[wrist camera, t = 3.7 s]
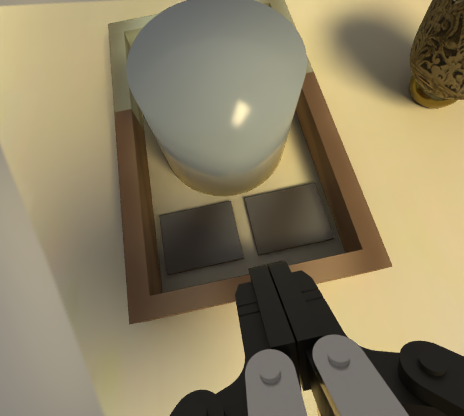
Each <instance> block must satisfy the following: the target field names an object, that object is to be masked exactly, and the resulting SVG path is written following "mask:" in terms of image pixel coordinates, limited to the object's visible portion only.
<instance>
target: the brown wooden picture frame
mask: <svg viewBox="0 0 464 416" xmlns="http://www.w3.org/2000/svg"><path fill="white" fill-rule="evenodd" d="M255 1H258V2H260V3H263V4H265V5H267V6H269V7H271V8H273V9H275V10H276V11H278V12H279V13H280V14H282V15H283V16H284V17H286V18H287V19H288V20H289V21H290V22H291V23H292V25H293V26H294V27H295V25H294V22H293V20H292V17H291V15H290V13H289V10H288V8H287V5H286V3H285V0H255ZM157 15H158V14H156V15H151V16H146V17H141V18H136V19H130V20H125V21H120V22H115V23H110V24H108V29H109V43H110V57H111V71H112V85H113V99H114V113H115V127H116V142H117V156H118V170H119V184H120V198H121V212H122V226H123V240H124V255H125V269H126V283H127V297H128V311H129V324H134V323H140V322H145V321H150V320H155V319H159V318H164V317H168V316H173V315H177V314H182V313H186V312H191V311H195V310H200V309H204V308H209V307H214V306H218V305H223V304H227V303H232V302H236V299H235V293H236V290H237V287H238V284H243V283H247V282H251V279H250V274H248V275H244V276H239V277H234V278H230V279H225V280H221V281H216V282H212V283H207V284H202V285H198V286H193V287H189V288H184V289H180V290H175V291H170V292H166V293H162V285H161V276H160V267H159V258H158V249H157V241H156V232H155V223H154V214H153V205H152V197H151V188H150V179H149V170H148V161H147V153H146V144H145V135H144V126H143V117H142V111H141V109H140V107H139V106H138V104H137V102H136V100H135V98H134V96H133V94H132V92H131V89H130V87H129V83H128V80H127V71H126V67H127V58H128V54H129V50H130V48H131V46H132V43H133V41H134V40H135V38H136V36H137V35H138V33H139V32H140V31H141V30H142V28H143V27H144V26H145V25H146V24H147V23H148V22H149V21H150V20H151V19H153V18H154V17H155V16H157ZM295 28H296V27H295ZM306 55H307V54H306ZM295 111H296V114H297V116H298V119H299V122H300V125H301V128H302V131H303V133H304V136H305V139H306V142H307V145H308V148H309V150H310V153H311V156H312V159H313V162H314V165H315V167H316V170H317V173H318V176H319V179H320V182H321V184H322V187H323V190H324V193H325V196H326V199H327V201H328V204H329V207H330V210H331V213H332V216H333V218H334V221H335V224H336V227H337V230H338V233H339V235H340V238H341V241H342V244H343V247H344V250H345V252H346V253H344V254H340V255H335V256H331V257H326V258H321V259H317V260H312V261H308V262H303V263H298V264H294V265H289V268H290V270H291V272H296V271H300V270H302V271H304V272H305V273H306V274H308V275H309V276H310V277H312V278H313V280H314V282H315V284H318V283H322V282H327V281H332V280H336V279H341V278H345V277H350V276H354V275H359V274H363V273H368V272H372V271H376V270H380V269H384V268H388V267H392V264H391V261H390V259H389V256H388V254H387V252H386V249H385V247H384V244H383V242H382V239H381V237H380V234H379V232H378V229H377V227H376V224H375V222H374V219H373V217H372V215H371V212H370V210H369V207H368V205H367V202H366V200H365V197H364V195H363V192H362V190H361V187H360V185H359V183H358V180H357V178H356V175H355V173H354V170H353V168H352V165H351V163H350V160H349V158H348V155H347V153H346V151H345V148H344V146H343V143H342V141H341V138H340V136H339V133H338V131H337V128H336V126H335V123H334V121H333V118H332V116H331V114H330V111H329V109H328V106H327V104H326V101H325V99H324V96H323V94H322V91H321V89H320V86H319V84H318V82H317V79H316V77H315V74H314V72H313V69H312V67H311V64H310V62H309V59H308V57H307V69H306V75H305V79H304V82H303V86H302V89H301V92H300V96H299V99H298V103H297V106H296V109H295ZM245 201H246V205H247V210H248V214H249V218H250V222H251V226H252V230H253V234H254V239H255V243H256V247H257V251H258V255H261V254H266V253H271V252H275V251H280V250H284V249H289V248H294V247H298V246H303V245H308V244H312V243H317V242H321V241H326V240H331V239H333V238H334V236H333V233H332V230H331V227H330V224H329V221H328V218H327V216H326V213H325V210H324V207H323V204H322V201H321V198H320V195H319V192H318V189H317V187H316V184H315V183H313V184H308V185H303V186H298V187H294V188H289V189H284V190H280V191H275V192H270V193H266V194H261V195H256V196H251V197H247V198H245ZM160 222H161V230H162V238H163V247H164V255H165V263H166V271H167V275H169V274H174V273H179V272H183V271H188V270H192V269H197V268H202V267H206V266H211V265H215V264H220V263H225V262H229V261H234V260H238V259H243V253H242V249H241V244H240V240H239V235H238V231H237V226H236V222H235V217H234V213H233V208H232V204H231V201H228V202H223V203H219V204H214V205H209V206H204V207H200V208H195V209H190V210H186V211H181V212H176V213H172V214H167V215H162V216H160Z"/></svg>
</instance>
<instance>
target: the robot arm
mask: <svg viewBox="0 0 464 416" xmlns="http://www.w3.org/2000/svg"><path fill="white" fill-rule="evenodd" d="M249 274H250V279H251V282H247V283H243V284H238V287H237V290H236V293H235V299H236V305H237V311H238V316H239V322H240V328H241V334H242V340H243V346H244V352H245V364H244V368H243V370H242V372H241V374H240V376H239V377H238V378H237V379H236V380H235V381H234V382H233V383H232V384H231V385H229V386H228V387H226V388H225V389H223V390H221V391H220V392H218V393H217V394H214V393H213V392H211V391H208V390H196V391H193V392H191V393H189V394H187V395H186V396H185V397H184V398H182V399H181V400H180V402H179V403H178V404H177V405H176V407H175V408H174V410H173V411H172V413H171V414H170V416H307V413H306V409H305V405H304V401H303V397H302V394H301V385H302V388H303V391H305V390H310V389H311V390H312V392H313V395H314V398H315V401H316V403H317V412H318V416H464V356H461V355H459V354H457V353H455V352H452V351H450V350H448V349H446V348H444V347H441V346H439V345H437V344H434V343H431V342H426V341H412V342H409V343H407V344H405V345H404V346H403V347H402V349H401V351H400V353H395V352H383V351H374V350H369V349H366V348H363V347H361V346H359V345H358V344H357V343H356V342H354V341H353V340H351V339H349V338H348V337H347V336H346V334H345V333H344V332H343V330H342V328H341V326H340V325H339V323H338V321H337V320H336V318H335V316H334V314H333V313H332V311H331V309H330V308H329V306H328V304H327V302H326V301H325V299H324V298H323V296H322V294H321V292H320V290H318V287H317V285H316V284H315V282H314V280H313V278H312V277H310V276H309V275H308V274H306V273H305V272H304V271H302V270H300V271H296V272H291V270H290V268H289V266H288V264H287V262H286V261H285V260H284V261H279V262H275V263H271V264H267V265H262V266H257V267H253V268H249ZM300 382H301V384H300Z"/></svg>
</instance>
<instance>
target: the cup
mask: <svg viewBox="0 0 464 416" xmlns="http://www.w3.org/2000/svg"><path fill="white" fill-rule="evenodd" d="M410 67H411V71H412V74H413V75H412V77H411V79H410V84H409V91H410V94H411V96H412V98H413V99H414V100H415V101H416V102H418V103H419V104H421V105H423V106H425V107H429V108H442V107H445V106H448V105H450V104H453V103H454V102H456V101H457V100H463V99H464V0H432V2H431V4H430V6H429V8H428V10H427V12H426V14H425V16H424V19H423V21H422V23H421V25H420V27H419V29H418V32H417V34H416V37H415V39H414V42H413V45H412V49H411V54H410Z"/></svg>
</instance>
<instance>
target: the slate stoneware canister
mask: <svg viewBox="0 0 464 416" xmlns="http://www.w3.org/2000/svg"><path fill="white" fill-rule="evenodd" d="M306 69H307V55H306V50H305V46H304V43H303V40H302V38H301V36H300V35H299V33H298V31H297V30H296V28H295V27H294V26H293V25H292V23H291V22H290V21H289V20H288V19H287V18H286V17H284V16H283V15H282V14H280V13H279V12H278V11H276V10H275V9H273V8H271V7H269V6H267V5H265V4H263V3H260V2H258V1H255V0H186V1H184V2H181V3H178V4H176V5H174V6H172V7H169V8H167V9H166V10H164V11H162V12H161V13H159V14H158V15H157V16H155V17H154V18H153V19H151V20H150V21H149V22H148V23H147V24H146V25H145V26H144V27H143V28H142V30H141V31H140V32H139V33H138V35H137V36H136V38H135V40H134V41H133V43H132V46H131V48H130V50H129V54H128V58H127V67H126V71H127V80H128V83H129V87H130V89H131V92H132V94H133V96H134V98H135V100H136V102H137V104H138V106H139V107H140V109H141V111H142V113H143V115H144V117H145V119H146V121H147V123H148V125H149V127H150V128H151V130H152V132H153V134H154V136H155V138H156V140H157V142H158V144H159V146H160V147H161V149H162V151H163V153H164V155H165V157H166V159H167V161H168V163H169V165H170V167H171V168H172V170H173V171H174V173H175V174H176V175H177V177H178V178H179V179H180V180H181V181H182V182H184V183H185V184H186V185H188V186H189V187H191V188H192V189H194V190H197V191H199V192H202V193H205V194H209V195H214V196H232V195H237V194H241V193H244V192H247V191H250V190H252V189H254V188H256V187H257V186H259V185H260V184H262V183H263V182H264V181H266V180H267V179H268V178H269V177H270V176H271V175H272V173H273V172H274V171H275V169H276V168H277V166H278V164H279V162H280V160H281V157H282V154H283V150H284V147H285V143H286V140H287V137H288V133H289V130H290V126H291V123H292V120H293V116H294V113H295V109H296V106H297V103H298V99H299V96H300V92H301V89H302V86H303V82H304V79H305V75H306Z"/></svg>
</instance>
